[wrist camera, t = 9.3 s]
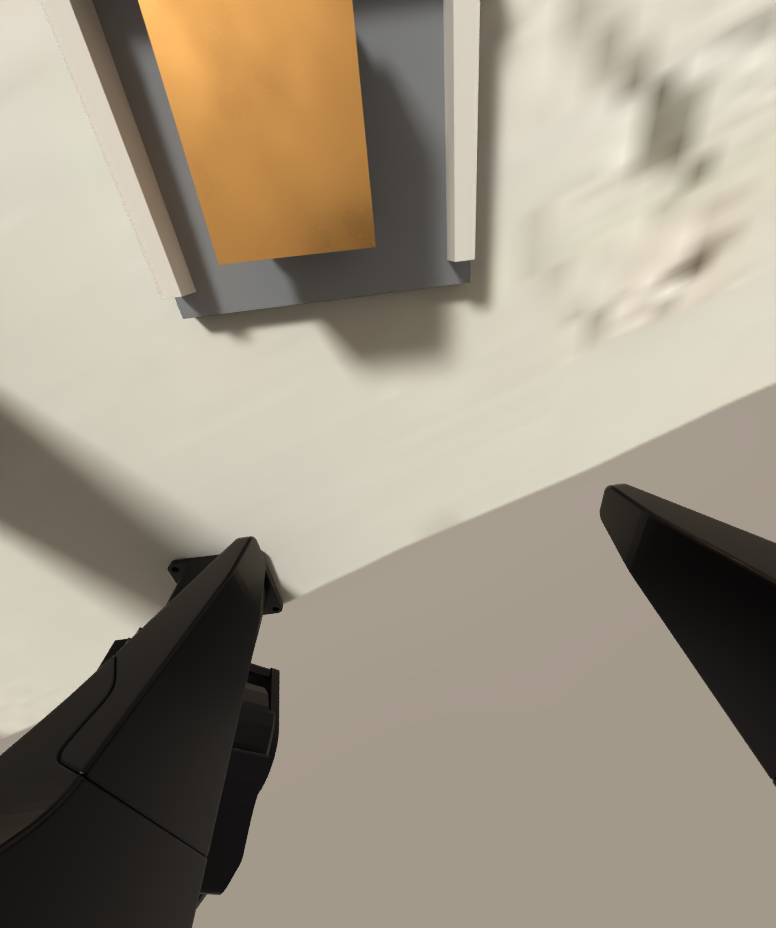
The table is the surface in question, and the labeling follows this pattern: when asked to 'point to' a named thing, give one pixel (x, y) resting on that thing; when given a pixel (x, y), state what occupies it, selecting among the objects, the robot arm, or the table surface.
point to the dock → (387, 141)
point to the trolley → (268, 121)
